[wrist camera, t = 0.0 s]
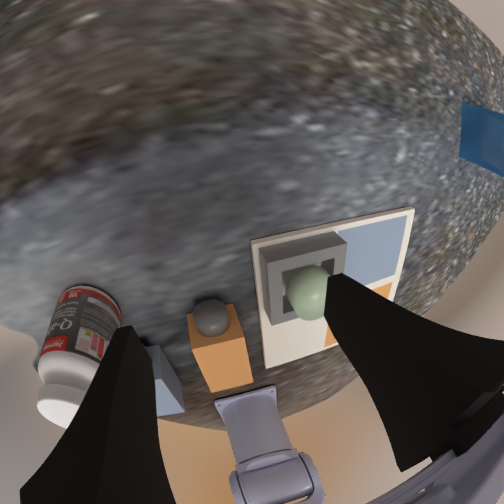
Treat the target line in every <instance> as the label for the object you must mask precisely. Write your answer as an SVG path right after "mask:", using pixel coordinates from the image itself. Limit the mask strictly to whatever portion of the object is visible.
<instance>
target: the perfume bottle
mask: <svg viewBox="0 0 504 504" xmlns="http://www.w3.org/2000/svg"><path fill="white" fill-rule="evenodd" d="M459 157H461V158H463V159H466V160H468V161H470V162H472V163H475V164H477V165H479V166H481V167H483V168H485V169H488V170H490V171H492V172H494V173H496V174H498V175H500V176H502V177H504V114H501V113H498V112H495V111H491V110H488V109H485V108H481V107H477V106H474V105H470V104H466V103H462V129H461V142H460V152H459Z"/></svg>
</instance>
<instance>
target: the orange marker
mask: <svg viewBox="0 0 504 504" xmlns="http://www.w3.org/2000/svg"><path fill="white" fill-rule="evenodd" d="M187 322H188V329H189V336H190V343H191V349H192V352H193V354H194V356H195V358H196V361H197V363H198V365H199V367H200V369H201V372H202V374H203V376H204V378H205V380H206V382H207V384H208V386H209V388H210V390H211V392H217V391H221V390H225V389H230V388H234V387H238V386H241V385H245V384H249V383H253V378H252V373H251V368H250V363H249V358H248V353H247V348H246V343H245V338H244V334H243V332H242V329H241V326H240V323H239V320H238V317H237V314H236V311H235V308H234V305H233V303H231V304H227V305H225V304H224V303H223V302H222V301H220V300H216V299H209V300H205V301H202V302H200V303H199V304H198V305H196V307H195V308H194V310H193V313H190V314H187Z"/></svg>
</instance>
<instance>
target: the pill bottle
mask: <svg viewBox="0 0 504 504" xmlns="http://www.w3.org/2000/svg"><path fill="white" fill-rule="evenodd" d="M120 327H121V314H120V311H119V308H118V306H117V305H116V303H115V302H114V301H113V300H112V299H111V298H110V297H109V296H108V295H107V294H105V293H104V292H102V291H100V290H98V289H96V288H93V287H89V286H76V287H72V288H70V289H68V290H66V291H65V292H64V293H63V294H62V295H61V297H60V299H59V301H58V303H57V306H56V309H55V311H54V314H53V317H52V320H51V323H50V325H49V329H48V332H47V335H46V338H45V341H44V345H43V348H42V351H41V355H40V358H39V364H38V372H39V376H40V379H41V381H42V382H43V384H44V385H43V386H41V387H40V389H39V392H38V400H37V408H38V410H39V411H40V413H41V414H42V415H43V416H44V417H45V418H47V419H48V420H50V421H51V422H53V423H55V424H57V425H59V426H61V427H64V428H68V426H69V424H70V423H71V421H72V419H73V417H74V416H75V414H76V412H77V410H78V408H79V406H80V404H81V403H82V400H83V398H84V396H85V394H86V392H87V390H88V388H89V386H90V384H91V382H92V380H93V378H94V375H95V373H96V371H97V369H98V367H99V365H100V362H101V360H102V358H103V356H104V353H105V351H106V349H107V347H108V345H109V342H110V340H111V338H112V336H113V334H114V332H115V330H116V328H120Z"/></svg>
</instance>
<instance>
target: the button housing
mask: <svg viewBox="0 0 504 504" xmlns="http://www.w3.org/2000/svg"><path fill="white" fill-rule="evenodd" d="M258 249H259V259H260V270H261V280H262V291H263V302H264V310H265V312H266V314H267V317H268V319H269V321H270V323H271V325H272V326H273V325H276V324H280V323H283V322H287V321H290V320H293V319H296V318H299V317H298V316H297V314H296V312H295V310H294V309H293V307H292V305H291V303H290V302H289V300H288V298H287V296H286V295H284V296H283V289H282V272H283V271H287V270H291V269H294V268H298V267H302V266H306V265H310V264H313V263H317V262H321V267H322V268H324V269H325V270H326V271H327V272H328V274H329V275H330V276H332V275H336V274H339V273H343V274H344V268H345V260H346V252H347V242H346V241H345V240H343V239H342V238H341V237H340V236H339V235H338V234H337V233H336V232H335V231H331V232H327V233H322V234H318V235H314V236H309V237H305V238H301V239H296V240H292V241H288V242H283V243H279V244H275V245H270V246H266V247H262V248H258Z"/></svg>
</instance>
